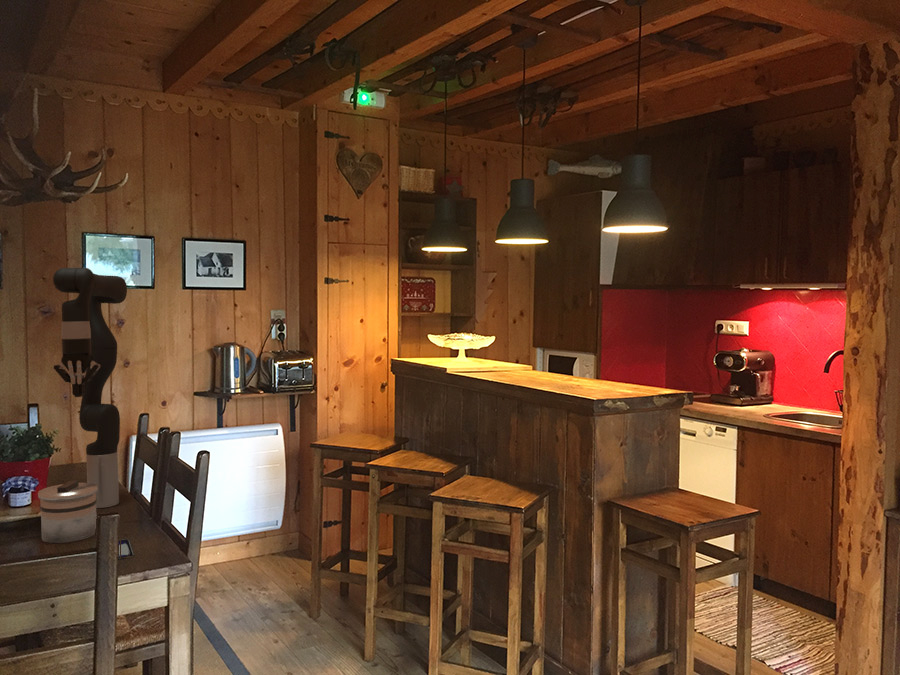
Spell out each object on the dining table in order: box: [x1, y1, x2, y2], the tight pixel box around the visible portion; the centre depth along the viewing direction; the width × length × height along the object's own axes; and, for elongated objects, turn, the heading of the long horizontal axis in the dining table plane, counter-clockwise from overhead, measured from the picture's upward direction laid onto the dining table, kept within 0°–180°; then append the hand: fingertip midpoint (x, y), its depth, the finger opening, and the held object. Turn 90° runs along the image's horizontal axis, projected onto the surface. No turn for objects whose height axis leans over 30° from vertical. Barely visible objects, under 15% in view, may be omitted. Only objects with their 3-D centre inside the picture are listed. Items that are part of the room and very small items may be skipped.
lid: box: [37, 480, 98, 501], centre depth 210 cm, size 15×15×3 cm
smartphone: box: [118, 538, 135, 561], centre depth 197 cm, size 7×1×15 cm
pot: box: [39, 493, 98, 544], centre depth 210 cm, size 14×14×12 cm
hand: (78, 396), depth 214 cm, fingers closed
